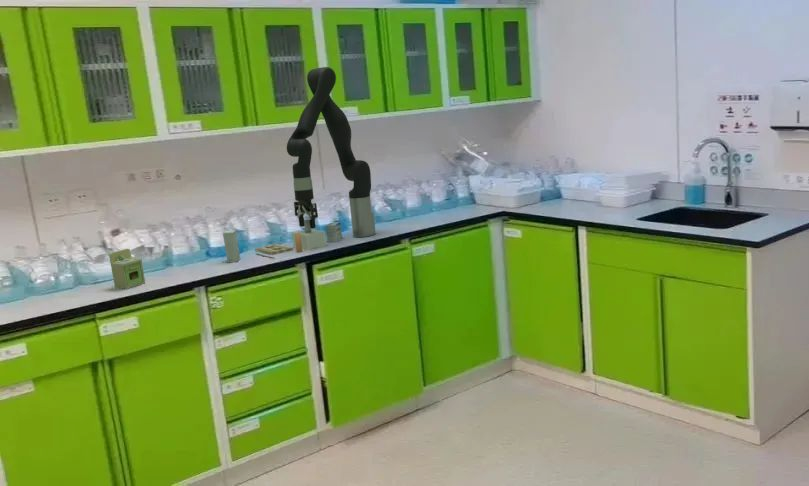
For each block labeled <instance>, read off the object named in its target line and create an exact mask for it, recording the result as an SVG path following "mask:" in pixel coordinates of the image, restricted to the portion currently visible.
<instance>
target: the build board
mask: <svg viewBox="0 0 809 486" xmlns="http://www.w3.org/2000/svg"><path fill="white" fill-rule="evenodd" d="M254 251H255V252H256V253H255V255H256V256H260V257H265V258H268V259H274V257H272V256H273V255H278V254H282V253H287V252H292V251H294V247H293V246H287V245H283V244H278V243H275V244H270V245H265V246H260V247H256V248H254ZM257 252H258V253H257ZM260 253H262V254H260ZM264 254H266V255H264ZM269 255H270V256H269Z"/></svg>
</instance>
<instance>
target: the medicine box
mask: <svg viewBox="0 0 809 486" xmlns="http://www.w3.org/2000/svg"><path fill="white" fill-rule="evenodd" d="M325 235H326V243H338V242H339V241H340V240H342V239H343V235H342V224H341V221H333V222H330V223H328V224H327V225H325Z"/></svg>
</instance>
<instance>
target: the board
mask: <svg viewBox="0 0 809 486" xmlns="http://www.w3.org/2000/svg"><path fill="white" fill-rule="evenodd" d="M324 247H328V244H326V246H322V247H318V248H314V249H313V250H316V249H319V248H320V249H321V248H324ZM294 248H295V249H296V247H294V246H293V249H294ZM302 250H303V251H307V250H306V249H302ZM310 250H312V249H309V250H308V251H310Z"/></svg>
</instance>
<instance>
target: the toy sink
mask: <svg viewBox="0 0 809 486" xmlns="http://www.w3.org/2000/svg"><path fill="white" fill-rule="evenodd" d="M108 256H109V262H110V267H111V273H112V278H113V284H114V285H113V286H114V288H116V289H121V290H128V289H131V288H134V287H137V286H141V285H144V284H146V278H145V273H144V268H143V267H144V266H143V259H142V258H139V257H132V254H131V249H130V248H123V249H120V250H116V251H112V252H110V253H109V254H108Z"/></svg>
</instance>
